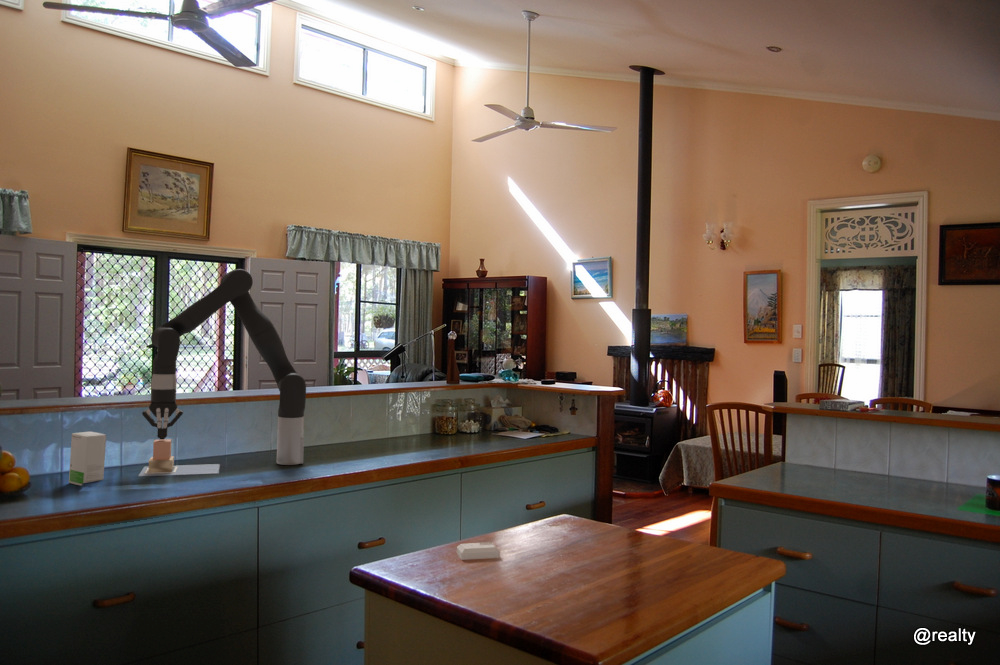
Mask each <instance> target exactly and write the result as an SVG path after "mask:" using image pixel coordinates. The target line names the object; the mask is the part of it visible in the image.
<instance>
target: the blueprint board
mask: <svg viewBox="0 0 1000 665" xmlns="http://www.w3.org/2000/svg"><path fill="white" fill-rule="evenodd" d="M220 467H221V464H220V463H213V464H185V465H184V464H182V465H177V464H176V465H175V464H174V468H173V471H172V472H155V473H148V470H149V465H148V466H143V468H142V470H141V471H140V473H139V474H138V477H157V476H184V475H185V476H187V475H211V474H220Z"/></svg>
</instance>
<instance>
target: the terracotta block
mask: <svg viewBox="0 0 1000 665" xmlns="http://www.w3.org/2000/svg"><path fill="white" fill-rule="evenodd" d="M152 443H153V448H152V457H153V460H170V458H171V456H172V438H169V439H168V438H165V439H164V440H160V439H154V441H153V442H152Z"/></svg>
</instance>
